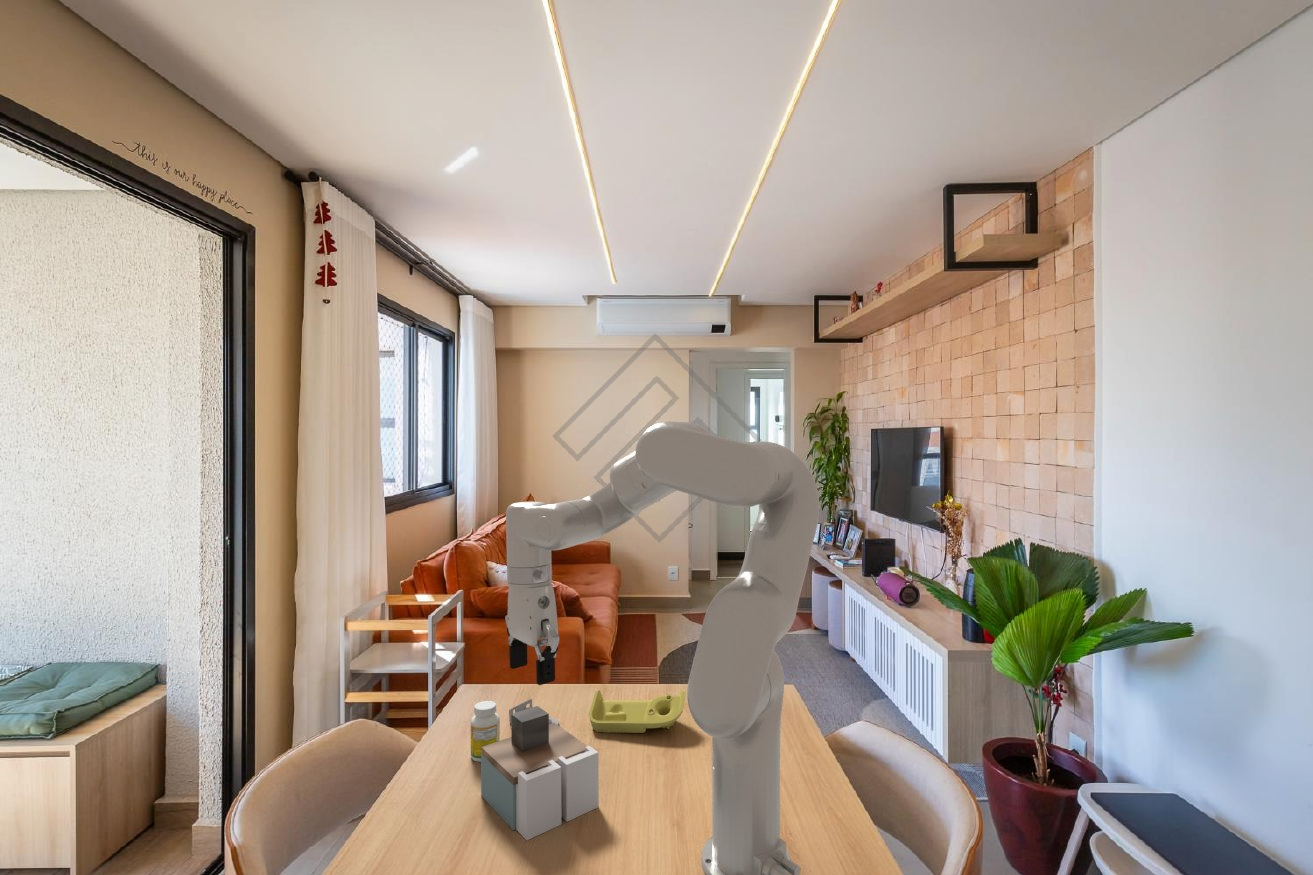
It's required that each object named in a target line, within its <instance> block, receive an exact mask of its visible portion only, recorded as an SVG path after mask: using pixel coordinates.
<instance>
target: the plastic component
mask: <svg viewBox="0 0 1313 875" xmlns="http://www.w3.org/2000/svg"><path fill="white" fill-rule="evenodd" d="M686 693H687V692H686V690H685V689H682V690H681V691H680V692H679V693H678V695H672V694H666V695H665V694H664V695H658V696H655V697H653V698H652V699H649V700H641V699H640V700H633V699H632V700H628V699H626V700H622V699H621V700H617V699H616V700H615V699H613V700H607V699H606V700H604V698H603V696H602V692H601V691H600V690H599V689H596V690H595V691H594V695H593V699H592V702H591V706H590V710H589V713H588V718H589V720H590V721H589V722H590V724H591V727H592V729H593V730H594V731H595V732H598V733H618V734H619V733H623V734H624V733H631V734H644V733H645V732H646V731H647V729H659V728H661V729H663V730H664V729H667V730H668V729H671V727H673V726H674V725H675V724H674V723H675V722H676V721H677V720H678V719H679V718H680V717H681V716H682V713H683V712H684V708H685V702H686V701H685V700H686Z"/></svg>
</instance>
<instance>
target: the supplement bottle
mask: <svg viewBox="0 0 1313 875" xmlns="http://www.w3.org/2000/svg"><path fill="white" fill-rule="evenodd" d="M473 709H474V710H473V712H474V715H473V716H472V717H471V720H470V757H471V759H472V760H473V761H474V762H478V763H481V754H482V747H484V746H487V745H490V744H493V743H495V742H498V741H501V739H500V727H501V726H500V716H499V714H498V713H497V712H496V711H497V703H496V702H495V701H493V700H484V701H483V700H482V701H479V702H477V703H476V704H474V708H473Z"/></svg>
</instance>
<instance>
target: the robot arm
mask: <svg viewBox="0 0 1313 875" xmlns="http://www.w3.org/2000/svg"><path fill="white" fill-rule="evenodd" d="M609 481H610V482H608V483H607V484H606V485H604V486H602V487H601V488H599V489H598V490H596V491H594V492H593V493H591V494H589V495H587V496H586V497H584V498H581V499H574V500H573V499H572V500H567V501H561V502H556V503H551V504H547V503H545V502H543V501H521V502H513V503H511V504H510V505H508V507H506V512H505V530H506V532H505V533H506V539H505V540H506V581H507V583H506V584H507V586H508V592H507V615H505V617H504V618H505V624H506V633H507V636H508V639H507V644H508V645H509V646H508V648H509V649H508V652H509V653H508V654H509V655H508V656H509V669H511V670H515V669H518V668H522V667H526V666H527V665H528V646H530V647H534V649H535V653H536V655H537V658H538V659H537V660H535V671H536V674H535V676H536V685H538V686H543V685H545V684H548V683H552V682H554V681H555V680H556V664H555V663H556V659H555V658H557V652H558V649H559V644H560V640H561V638H560V635H559V630H558V629H559V628H558V626H559V625H558V624H559V623H558V614H557V611H558V610H557V604H556V602H557V601H556V595H555V590H554V585H553V583H552V582H553V570H552V568H553V567H552V566H553V565H552V563H553V562H552V551H560V550H565V549H568V548H571V547H574V546H578V545H581V544H585V543H590V542H593V541H595V540H597V539H599V538H602V537H603V536H605V535H607V534H609V533H610V532H612V531H614V530H616V529H618V528H619V527H621V526H622V525H625V524H626V523H628V522H629V521H631V520H632V519H633V518H635V517H637V516H638V515H639V514H641V513H642V511H643V510H646V509H647V508H649V507H651V506H652V505H654V504H655V503H657V502H659V501H661V500H663V499H664V498H666V497H668V496H670V495H671V494H673V493H675V492H676V491H678V492H682V493H685V494H688V495H691V496H693V497H698V498H700V499H702V500H707V501H709V502H710V501H711V502H712V503H716V504H719V505H723V506H726V507H730V508H731V507H732V508H736V509H738V508H741V509H742V508H744V509H745V508H751V507H755V506H757V505H758V513H757V516H756V519H755V522H754V525H753V527H752V529H751V532H750V535H749V538H748V542H747V546H746V550H745V551H746V552H745V554H744V559H743V562H742V566H741V569H740V570H739V572H738V573H739V574H738V576H736V578H735V579H734V580H733V581H731V582H730V583H728V584H727V585H725V586H724V587H722V588H721V589H719V591H717V593H716V594H715V595H714V596H713V598H712V599H711V602H710V603H709V605H708V606H707V610H706V611H705V615H704V617H703V621H702V624H701V628H700V633H699V638H698V641H697V646H696V649H695V653H694V656H693V660H692V661H693V662H692V664H691V670H690V673H689V677H688V681H687V692H686V696H687V698H686V699H687V700H686V701H687V705H688V709H689V714H690V715H691V717H692V719H693V721H694V722H695V724H696V725H697V727H698V728H699V729H701V731H703V732H704V733H705V734H706V735H708V736H711V737H712V740H711V741H712V743H711V744H712V745H711V746H712V747H711V748H712V749H711V750H712V752H711V754H712V756H711V765H712V768H711V769H712V771H711V772H712V773H711V774H712V776H711V777H712V778H711V782H712V783H711V784H712V788H711V789H712V792H711V793H712V794H711V795H712V796H711V797H712V809H711V810H712V813H711V814H712V815H711V816H712V818H711V819H712V820H711V823H712V824H711V825H712V827H711V828H712V832H711V833H712V835H711V837H709V838H708V840H707V841H705V842H704V843H705V844H704V845H702V846H703V847H702V849H701V850H702V851H701V867H702V870H703V873H704V874H705V875H800V874H801V870H802V867H801V866H800V865H798V864H797V863H795V862H794V861H792V858H791V855H790V852H788V850H787V841H785V840H784V839H782V838H781V728H782V726H781V725H782V724H781V723H782V711H783V705H784V704H783V703H784V702H783V701H784V695H785V694H784V693H785V675H784V669H783V665H782V662H781V659H780V657H779V655H778V653H777V652H776V650H775V647H776V646H777V643H778V642H779V641H780V640H782V638H783V637H784V636H785V635H786V634H787V633H788V632H789V631H790V629H791V628H792V626H793V624H794V622H795V619H796V617H797V612H798V606H799V601H800V597H801V593H802V590H803V585H804V581H805V578H806V574H807V571H808V566H809V561H810V558H811V553H812V548H813V544H814V540H815V537H816V533H817V528H818V522H819V516H820V498H819V492H818V487H817V483H816V481H815V479H814V476H813V474H812V472H811V471H810V469H809V468H808V466H807V465H806V464H805V462H804V461H802V459H801V458H800V457H799V456H798V455H797V454H796V453H794V452H793V451H792V450H791V449H789V448H788V447H785V446H784V445H781V444H778V443H775V442H772V441H761V440H760V441H738V440H737V441H736V440H733V439H729V438H725V437H722V436H716V435H712V433H711V432H710V431H709V430H708V429H707V428H705V427H704V426H703V425H700V424H699V423H695V422H688V421H661V422H658V423H656V424H653V425H651V426H650V427H648V428H647V429H646V430H645V431H644V432H642V434H641V435H640V436H639V439H638V440H637V444H636V446H635V450H634V451H632V452H631V453H629V454H627V455H626V456H624V457H623V458H621V459H619V460H618V461H616V462H615V463H614V464H612V466H611V468H610V472H609ZM543 646H545V648H544V649H542V647H543Z"/></svg>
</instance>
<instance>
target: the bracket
mask: <svg viewBox="0 0 1313 875" xmlns="http://www.w3.org/2000/svg"><path fill="white" fill-rule="evenodd" d="M532 707H533V699H532V698H529V699H527V700H525V701H523V702H521V703H519V704H517V705H515V706H512V707H511V708H509V710H508V719H509V724H510V725H511V714H513V713H517V712H520V711H523V710H526V709H529V708H532ZM551 723H556V724H557V725H558V726H559V723H560V721H559V719H557V718H555V717H552V716H549V724H551Z"/></svg>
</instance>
